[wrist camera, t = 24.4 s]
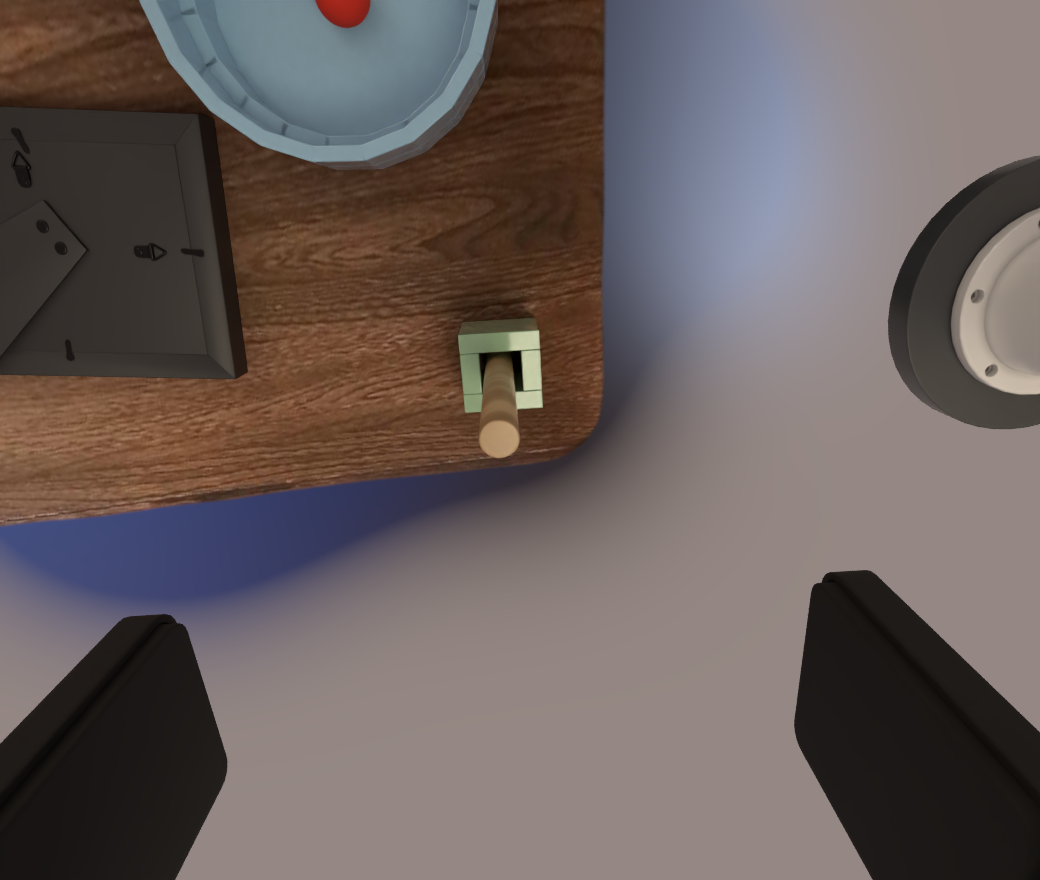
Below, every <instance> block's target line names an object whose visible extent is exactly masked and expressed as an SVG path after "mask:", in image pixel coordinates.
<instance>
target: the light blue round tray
mask: <svg viewBox="0 0 1040 880" xmlns="http://www.w3.org/2000/svg"><path fill="white" fill-rule="evenodd" d="M139 1H140V4H141V6H142V8H143V10H144V12H145V14H146V16H147V18H148V20H149V22H150V24H151V26H152V28H153V30H154V32H155V34H156V37H157V39H158V41H159V43H160V45H161V47H162V49H163V51H164V53H165V55H166V57H167V59H168V61H169V63H170V64H171V65H172V66H173V68H174V69H175V70H176V71H177V72H178V73H179V75H180V76H181V77H182V78H183V79H184V81H185V82H186V83H187V84H188V85H189V87H190V88H191V89H192V90H193V91H194V92H195V94H196V95H197V96H198V97H199V98H200V100H201V101H202V102H203V103H204V104H205V106H206V107H207V108H208V109H209V110H210V111H211V112H212V113H214V114H215V115H216V116H218V117H219V118H221V119H222V120H224V121H225V122H227V123H228V124H230V125H231V126H232V127H234V128H235V129H237V130H238V131H240V132H241V133H243V134H244V135H245V136H247V137H248V138H250V139H251V140H253V141H254V142H256V143H257V144H258V145H260V146H263V147H266V148H269V149H272V150H276V151H279V152H282V153H285V154H288V155H291V156H294V157H298V158H301V159H304V160H307V161H310V162H313V163H316V164H320V165H323V166H326V167H329V168H332V169H335V170H369V169H382V168H383V169H385V168H387V167H390V166H392V165H395V164H397V163H400V162H403V161H405V160H408V159H410V158H413V157H415V156H418V155H421V154H423V153H424V152H426V151H427V150H429V149H430V148H431V147H432V146H433V145H434V144H435V143H437V142H438V141H439V140H440V139H441V138H442V137H443V136H445V135H446V134H447V133H448V132H449V131H450V130H451V129H453V128H454V127H455V126H456V125H457V124H458V123H459V122H460V121H461V119H462V118H463V116H464V114H465V112H466V111H467V109H468V107H469V106H470V104H471V102H472V100H473V99H474V97H475V95H476V94H477V92H478V90H479V89H480V87H481V85H482V83H483V82H484V80H485V79H484V78H485V77H486V73H487V69H488V65H489V61H490V56H491V52H492V48H493V44H494V40H495V36H496V32H497V26H498V0H371V2H370V9H369V12H368V14H367V16H366V18H365V19H364V20H363V22H361V23H360V24H359V25H357V26H355V27H352V28H342V27H338V26H336V25H334V24H332V23H331V22H330V21H328V20H327V19H326V18H325V17H324V16H323V14H322V13H321V11H320V10H319V8H318V6H317V4H316V1H315V0H139Z"/></svg>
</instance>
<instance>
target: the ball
mask: <svg viewBox="0 0 1040 880" xmlns="http://www.w3.org/2000/svg"><path fill="white" fill-rule="evenodd" d="M315 1H316V4H317V6H318V8H319V10H320V11H321V13H322V14H323V16H324V17H325V18H326V19H327V20H328V21H330V22H331V23H332V24H334V25H336V26H338V27H342V28H352V27H355V26H357V25H359V24H360V23H361V22H363V20H364V19H365V18H366V16H367V14H368V12H369V9H370V2H371V0H315Z"/></svg>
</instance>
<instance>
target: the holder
mask: <svg viewBox="0 0 1040 880" xmlns="http://www.w3.org/2000/svg"><path fill="white" fill-rule="evenodd" d="M458 343H459V353H460V363H461V374H462V384H463V394H464V406H465V413H470V412H481V407H482V396H483V385H484V368H483V355H482V353H489V352H505V351H519V355H520V373H514V384H515V394H516V404H517V409H530V408H542V407H543V399H542V378H541V356H540V335H539V329H538V326H537V323H536V320H535V318H521V319H506V320H490V321H474V322H463V323H462V326H461V328H460V331H459V334H458Z"/></svg>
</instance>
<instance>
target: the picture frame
mask: <svg viewBox="0 0 1040 880" xmlns="http://www.w3.org/2000/svg"><path fill="white" fill-rule="evenodd" d="M247 372H248V370H247V363H246V355H245V348H244V341H243V333H242V326H241V318H240V311H239V303H238V296H237V288H236V281H235V273H234V266H233V259H232V251H231V244H230V236H229V229H228V221H227V214H226V206H225V199H224V191H223V184H222V176H221V169H220V162H219V154H218V147H217V139H216V132H215V124H214V119H211V118H208V117H206V116H203V115H200V114H191V113H164V112H138V111H111V110H84V109H58V108H31V107H4V106H0V375H43V376H95V377H146V378H198V379H237V378H238V377H240V376H242V375H243V374H245V373H247Z"/></svg>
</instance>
